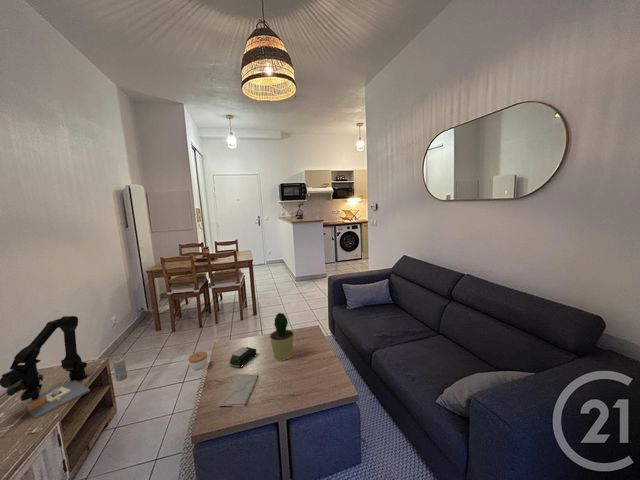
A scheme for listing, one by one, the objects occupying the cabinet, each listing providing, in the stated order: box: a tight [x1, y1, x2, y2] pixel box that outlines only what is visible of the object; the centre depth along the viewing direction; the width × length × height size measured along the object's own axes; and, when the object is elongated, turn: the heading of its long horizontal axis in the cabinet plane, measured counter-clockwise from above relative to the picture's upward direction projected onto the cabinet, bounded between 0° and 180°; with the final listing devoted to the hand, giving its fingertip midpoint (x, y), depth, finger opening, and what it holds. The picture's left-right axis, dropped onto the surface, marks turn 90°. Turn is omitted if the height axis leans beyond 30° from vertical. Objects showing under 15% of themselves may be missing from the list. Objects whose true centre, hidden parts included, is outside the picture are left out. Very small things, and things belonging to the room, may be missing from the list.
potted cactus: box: [269, 312, 294, 361], centre depth 175 cm, size 15×15×30 cm
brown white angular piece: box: [27, 387, 71, 411], centre depth 144 cm, size 16×9×4 cm, turn 158°
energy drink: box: [113, 357, 128, 382], centre depth 161 cm, size 5×5×12 cm
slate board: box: [20, 380, 91, 420], centre depth 147 cm, size 22×22×4 cm
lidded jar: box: [187, 351, 208, 371], centre depth 168 cm, size 11×11×9 cm
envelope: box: [217, 373, 259, 406], centre depth 145 cm, size 24×2×14 cm
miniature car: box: [228, 346, 258, 368], centre depth 174 cm, size 9×18×8 cm, turn 155°
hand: (35, 401), depth 141 cm, fingers closed
